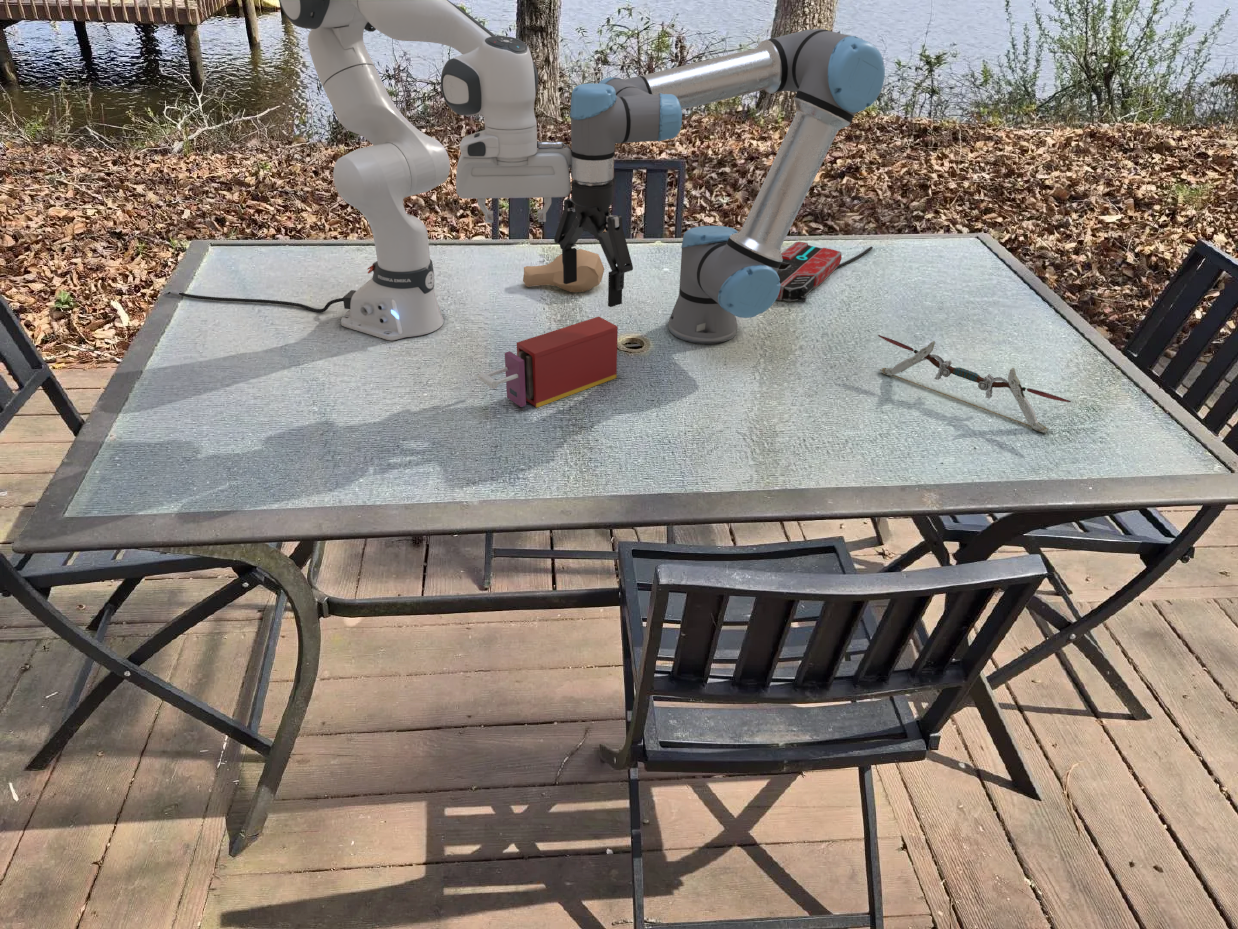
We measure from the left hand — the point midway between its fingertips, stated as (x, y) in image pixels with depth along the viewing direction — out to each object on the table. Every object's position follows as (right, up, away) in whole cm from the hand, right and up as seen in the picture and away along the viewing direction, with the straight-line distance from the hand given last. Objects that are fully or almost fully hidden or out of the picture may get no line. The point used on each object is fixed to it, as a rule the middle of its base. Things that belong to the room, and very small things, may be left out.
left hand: (515, 221), depth 158 cm
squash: (+5, 0, +57) cm, 57 cm away
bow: (+86, -31, +14) cm, 92 cm away
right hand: (+14, -12, +8) cm, 19 cm away
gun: (+62, +4, +66) cm, 90 cm away
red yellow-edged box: (+9, -29, +15) cm, 33 cm away
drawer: (+4, -30, +11) cm, 32 cm away
